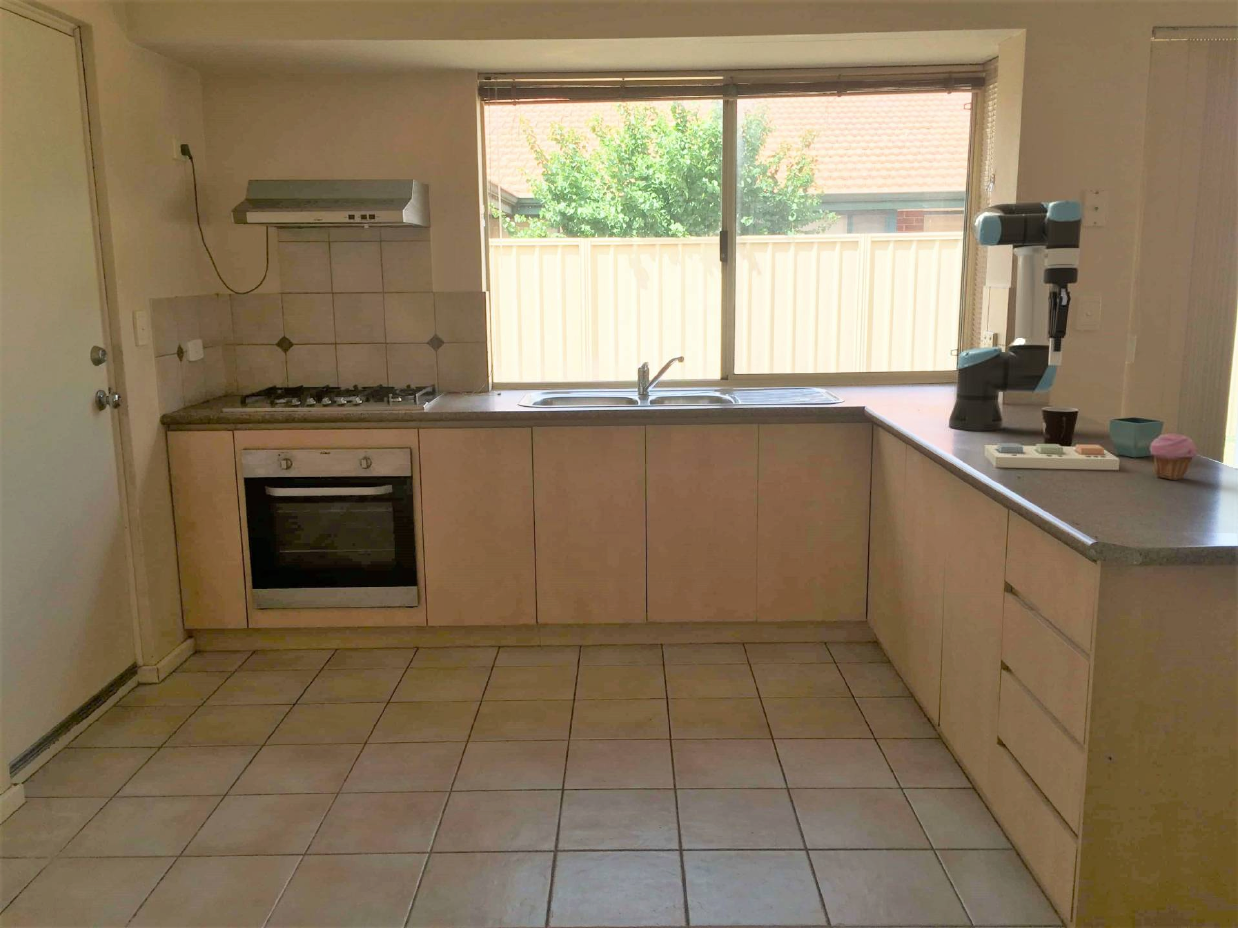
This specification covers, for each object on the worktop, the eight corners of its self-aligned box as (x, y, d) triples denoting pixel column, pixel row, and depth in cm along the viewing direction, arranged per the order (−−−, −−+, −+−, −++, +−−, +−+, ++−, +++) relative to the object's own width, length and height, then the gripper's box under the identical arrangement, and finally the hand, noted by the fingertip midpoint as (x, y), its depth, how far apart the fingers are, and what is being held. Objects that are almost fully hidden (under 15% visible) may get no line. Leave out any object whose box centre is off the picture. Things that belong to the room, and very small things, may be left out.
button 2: (1035, 454, 240) (1036, 443, 239) (1057, 455, 239) (1058, 444, 238) (1040, 458, 235) (1040, 447, 234) (1062, 458, 234) (1063, 447, 233)
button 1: (996, 453, 241) (997, 443, 241) (1018, 454, 240) (1019, 443, 240) (1000, 457, 237) (1001, 446, 236) (1022, 458, 236) (1023, 447, 235)
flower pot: (1105, 454, 246) (1108, 418, 244) (1131, 451, 249) (1134, 416, 247) (1134, 460, 238) (1137, 423, 236) (1161, 457, 241) (1165, 421, 239)
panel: (984, 454, 247) (984, 444, 247) (1099, 457, 242) (1100, 446, 242) (995, 467, 232) (995, 456, 231) (1118, 469, 227) (1119, 458, 226)
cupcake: (1139, 476, 220) (1143, 432, 218) (1166, 472, 223) (1170, 429, 221) (1175, 483, 212) (1179, 438, 210) (1202, 479, 215) (1207, 434, 213)
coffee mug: (1045, 443, 262) (1047, 406, 260) (1079, 446, 257) (1082, 408, 255) (1031, 449, 253) (1034, 411, 251) (1066, 453, 248) (1069, 413, 246)
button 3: (1075, 455, 238) (1075, 444, 237) (1097, 455, 237) (1098, 444, 236) (1080, 459, 233) (1081, 448, 233) (1103, 459, 232) (1104, 448, 232)
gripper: (1039, 268, 244) (1033, 363, 248) (1050, 266, 232) (1043, 366, 236) (1071, 267, 243) (1065, 363, 247) (1084, 266, 230) (1077, 367, 234)
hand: (1054, 365), depth 241 cm, fingers closed
